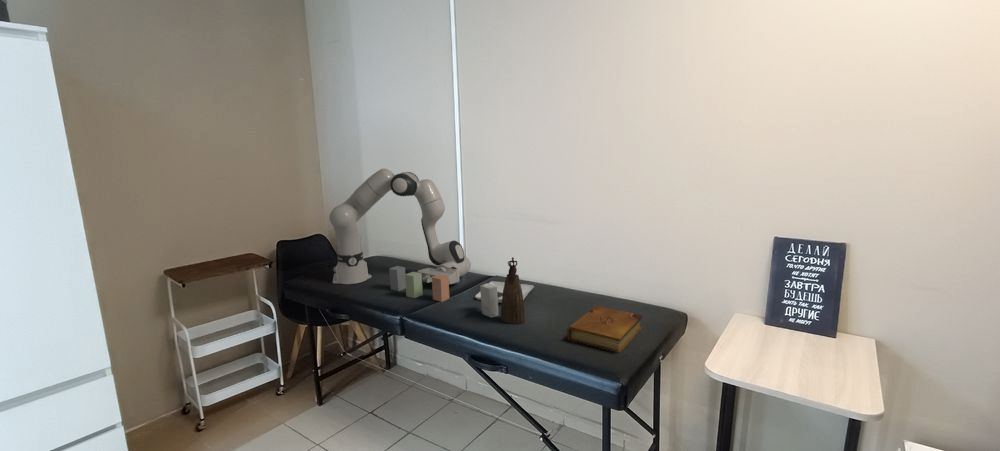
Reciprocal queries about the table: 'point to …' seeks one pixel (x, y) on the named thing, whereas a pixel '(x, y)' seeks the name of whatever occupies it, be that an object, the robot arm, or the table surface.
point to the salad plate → (500, 287)
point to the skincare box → (489, 300)
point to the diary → (605, 328)
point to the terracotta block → (440, 287)
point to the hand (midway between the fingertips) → (425, 280)
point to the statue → (512, 298)
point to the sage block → (413, 284)
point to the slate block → (397, 278)
